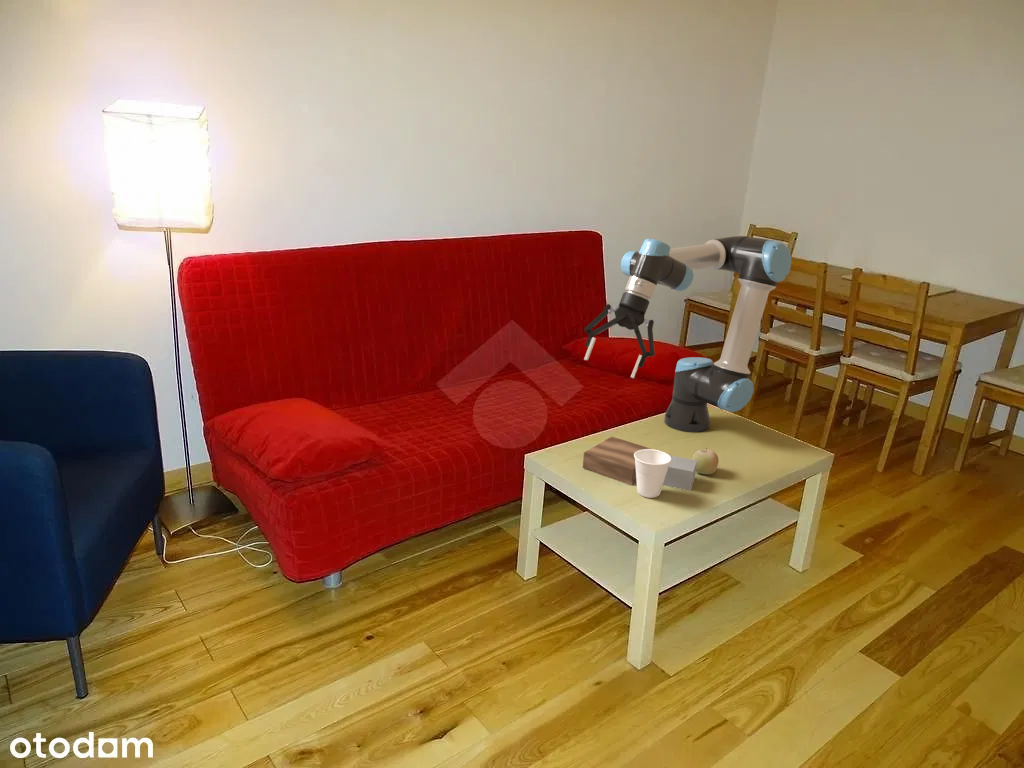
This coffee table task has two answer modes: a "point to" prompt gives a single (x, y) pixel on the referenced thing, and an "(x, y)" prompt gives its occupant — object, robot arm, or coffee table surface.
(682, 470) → the grey block
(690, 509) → the coffee table surface
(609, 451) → the walnut block
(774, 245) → the robot arm
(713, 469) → the fruit
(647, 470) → the cup
